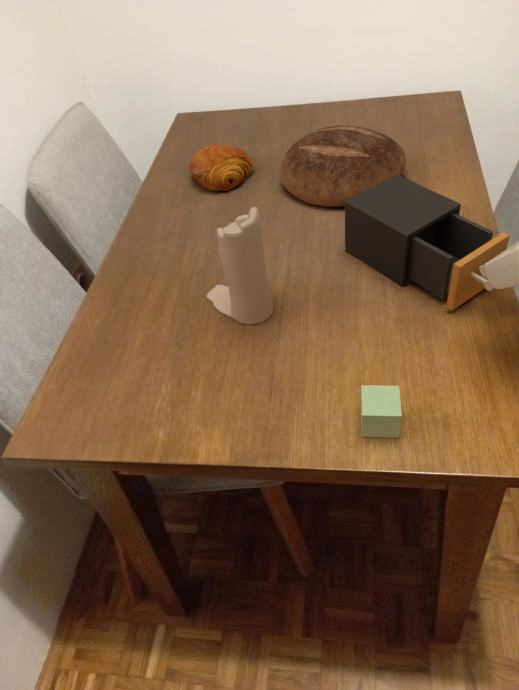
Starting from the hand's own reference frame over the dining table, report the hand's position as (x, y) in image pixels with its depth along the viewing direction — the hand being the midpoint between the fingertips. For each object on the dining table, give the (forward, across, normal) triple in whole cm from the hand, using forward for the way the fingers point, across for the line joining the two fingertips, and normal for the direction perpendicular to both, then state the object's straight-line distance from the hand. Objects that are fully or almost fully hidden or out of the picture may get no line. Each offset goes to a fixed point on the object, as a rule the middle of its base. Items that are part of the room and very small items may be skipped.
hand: (505, 256), depth 76 cm
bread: (+42, -12, -26) cm, 51 cm away
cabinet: (+23, -1, -7) cm, 24 cm away
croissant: (+58, +6, -42) cm, 71 cm away
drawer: (+13, -1, +1) cm, 13 cm away
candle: (+30, +29, -13) cm, 43 cm away
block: (+5, +28, +10) cm, 31 cm away
